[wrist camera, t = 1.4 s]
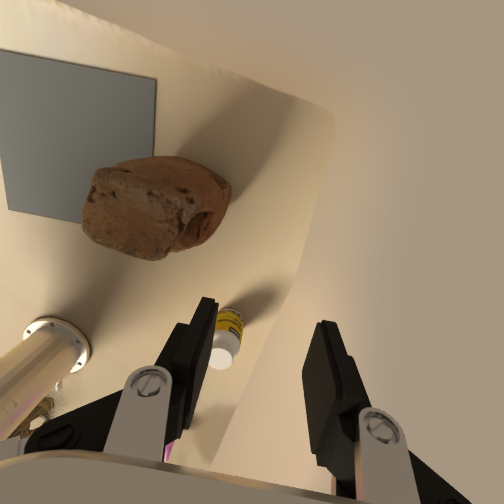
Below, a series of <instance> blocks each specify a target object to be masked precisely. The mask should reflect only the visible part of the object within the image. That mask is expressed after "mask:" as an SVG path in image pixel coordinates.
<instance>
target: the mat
mask: <svg viewBox="0 0 504 504" xmlns="http://www.w3.org/2000/svg"><path fill="white" fill-rule="evenodd" d="M155 92H156V80H152V79H147V78H141V77H136V76H131V75H126V74H120V73H115V72H110V71H104V70H99V69H94V68H89V67H83V66H78V65H73V64H67V63H62V62H57V61H52V60H46V59H41V58H36V57H30V56H25V55H20V54H15V53H9V52H4V51H0V158H1V165H2V171H3V178H4V184H5V191H6V197H7V204H8V210H12V211H17V212H22V213H28V214H33V215H38V216H43V217H48V218H54V219H59V220H64V221H69V222H75V223H80V224H82V220H81V212H82V209H83V206H84V203H85V200H86V198H87V196H88V193H89V191H90V189H91V183H92V176H93V174H94V172H95V171H96V170H97V169H99V168H103V167H113V166H114V165H116V164H117V163H120V162H124V161H128V160H133V159H138V158H149V157H153V140H154V116H155Z"/></svg>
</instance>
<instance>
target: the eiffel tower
mask: <svg viewBox="0 0 504 504" xmlns="http://www.w3.org/2000/svg"><path fill="white" fill-rule="evenodd" d="M51 408H52V409H53V408H54V404H53V399H52V398H46V397H44V398H43V399H42V400H41V401H40V402H39V404H38V405H37V406H36V407H35V408H34V409H33V410H32V411H31V412H30V414H29V415H28V416H27V418H25V419H24V420H23V421H22V422H21V423H20V424H19V425H18V427H17V428H16V429H15V430H14V431H13V432H12V433H11V434H10V435H9V437H8V438H7V439H9V438H12V437H16V436H19V435H20V439H23V438H26V437H29V436H31V435H32V434H33V433H34V431H35V430H36V429H38V428H39V427H38V428H36V429H33V430H29V428H30V422H31V421H33V420H34V419H36V418H37V417H39V416H40V415H42V414H43V413H45V412H46V411H48V409H49V410H50V409H51ZM44 423H46V422H45V421H44ZM44 423H43V424H44Z"/></svg>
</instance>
